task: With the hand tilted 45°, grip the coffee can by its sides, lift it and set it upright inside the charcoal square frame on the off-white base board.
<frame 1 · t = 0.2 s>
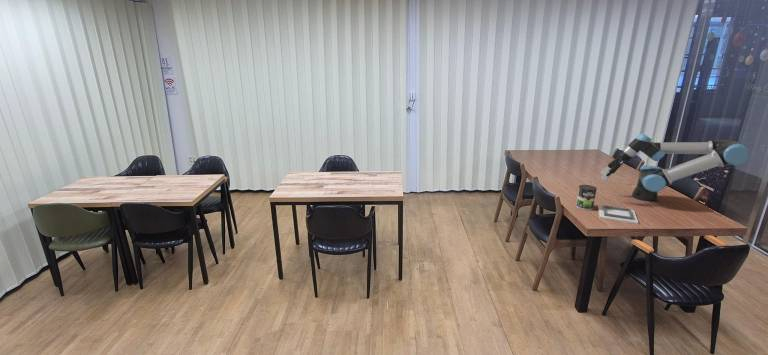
hand: (602, 176, 251), 16 cm above the table, tool tilted 35°, fingers open, 13 cm apart
coffee can: (584, 207, 241), on the table
base board: (616, 214, 228), on the table
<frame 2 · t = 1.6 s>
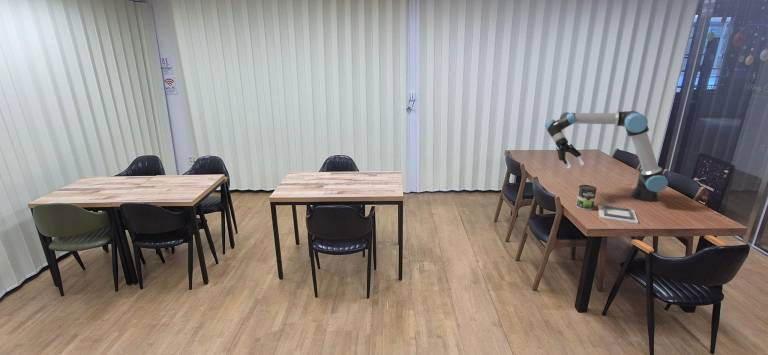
hand: (576, 166, 242), 26 cm above the table, tool tilted 45°, fingers open, 13 cm apart
nothing on the table moved.
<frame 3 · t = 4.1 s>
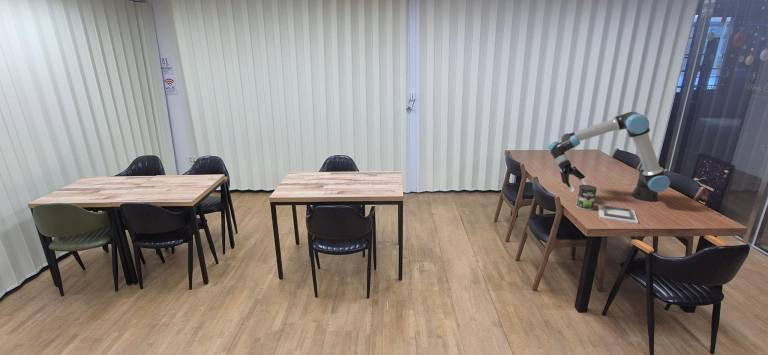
hand: (580, 189, 241), 11 cm above the table, tool tilted 45°, fingers open, 13 cm apart
nothing on the table moved.
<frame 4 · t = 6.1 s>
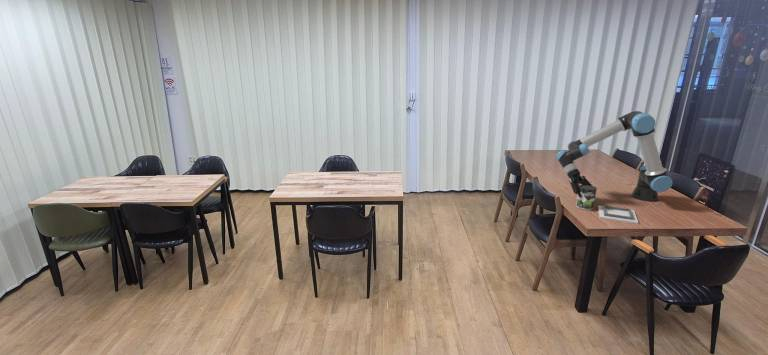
hand: (590, 200, 236), 6 cm above the table, tool tilted 45°, fingers closed on coffee can, 10 cm apart
coffee can: (584, 207, 241), on the table, touching gripper
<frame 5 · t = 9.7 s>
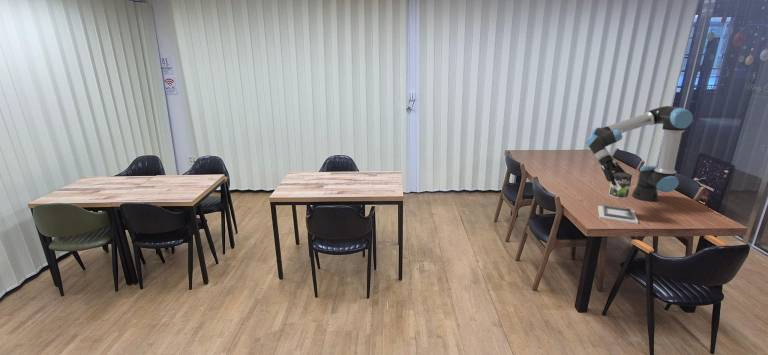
hand: (624, 188, 220), 19 cm above the table, tool tilted 45°, fingers closed on coffee can, 10 cm apart
coffee can: (618, 195, 225), point 13 cm above the table, touching gripper
when the fingers open (8 cm above the table, at t = 13.1 s): coffee can stays where it is, resting on base board.
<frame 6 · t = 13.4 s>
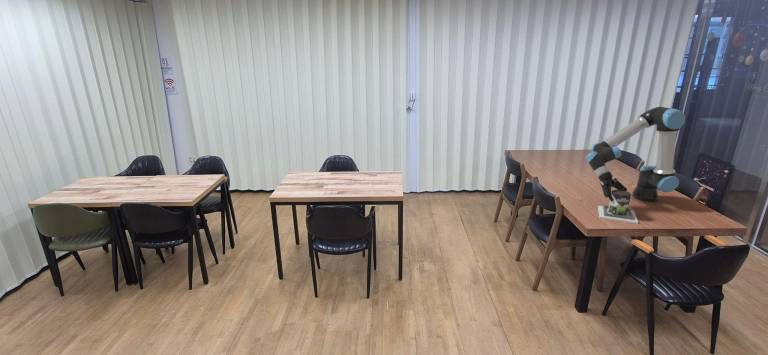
hand: (623, 203, 223), 9 cm above the table, tool tilted 45°, fingers open, 13 cm apart
coffee can: (617, 213, 228), point 1 cm above the table, touching base board
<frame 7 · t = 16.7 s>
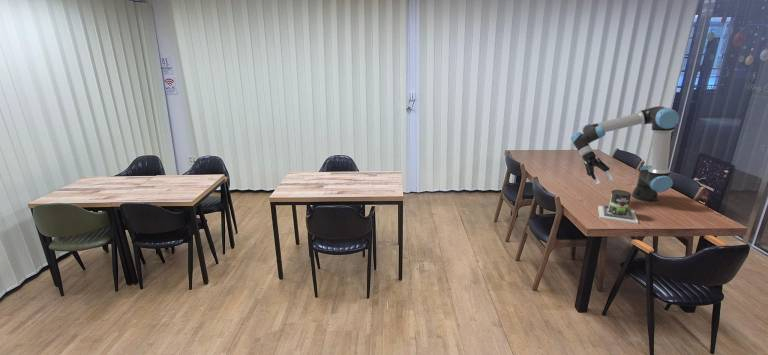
hand: (605, 181, 232), 19 cm above the table, tool tilted 45°, fingers open, 13 cm apart
nothing on the table moved.
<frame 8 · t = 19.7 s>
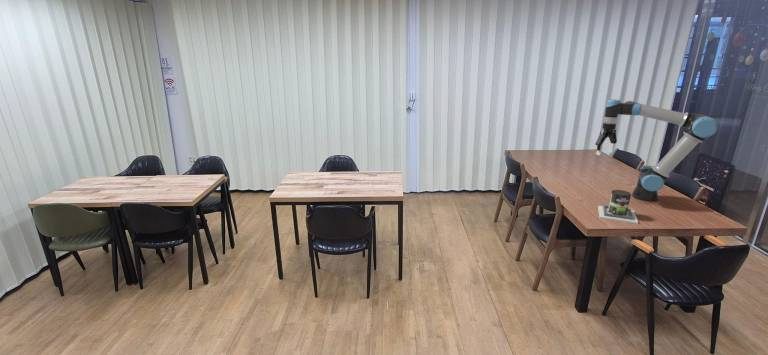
hand: (604, 153, 249), 32 cm above the table, tool pointing down, fingers open, 13 cm apart
nothing on the table moved.
at the end: coffee can 0.1 cm off-centre on the base board, point 0.8 cm above the base board's base; coffee can tilted 0°; the gripper is holding nothing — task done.
